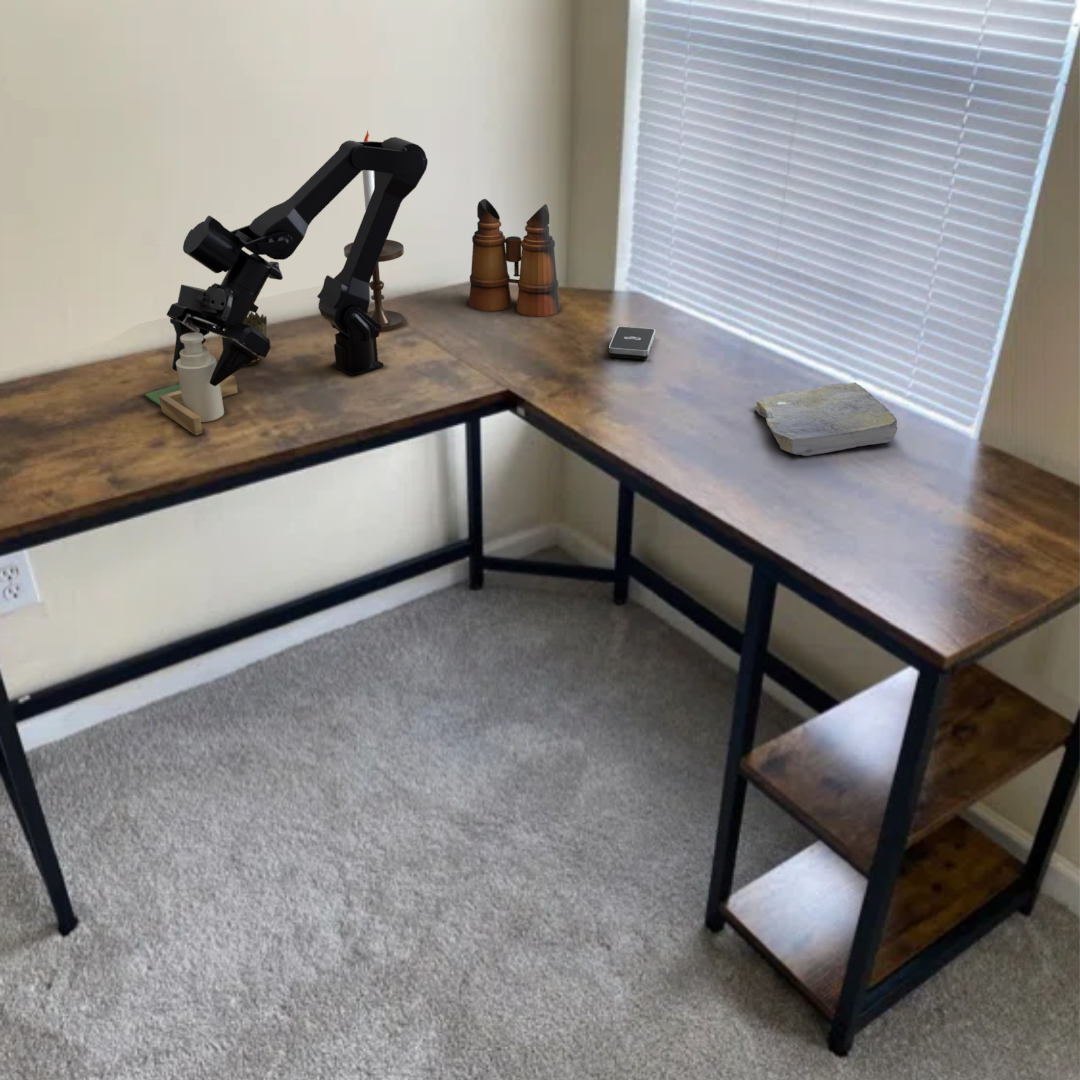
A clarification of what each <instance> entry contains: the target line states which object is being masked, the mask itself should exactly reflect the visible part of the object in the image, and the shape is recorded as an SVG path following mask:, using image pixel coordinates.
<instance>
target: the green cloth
mask: <svg viewBox="0 0 1080 1080" xmlns="http://www.w3.org/2000/svg"><path fill="white" fill-rule="evenodd" d="M179 390H180V384H179V383H178V384H174V385H171V386H168V387H164V388H161V389H157V390H154V391H150V392H147V393H144V397H146V398H147V399H148V400H149V401H151V402H153V403H154V404H156V405H157V406H159V407H160V408H161V404H160V399H159V396H162V395H165V394H168V393H172V392H175V391H179Z"/></svg>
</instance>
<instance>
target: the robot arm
mask: <svg viewBox="0 0 1080 1080" xmlns="http://www.w3.org/2000/svg"><path fill="white" fill-rule="evenodd" d="M428 160H429V159H428V158H427V155H426V152H425V150H424V149H423V148H422V147H421V146H420V145H419V144H416V143H414V142H411V141H409V140H406V139H403V138H401V137H397V136H393V137H389V138H387V139H384V140H383V141H372V140H371V141H370V140H368V141H367V142H364V141H355V140H351V139H349V140H346V141H344V142H342V143H341V144H340V145H339V147H338V150H337V151H335V153H334V154H332V156H331V157H329V158H328V160H327V161H325V163H324V164H323V165H321V166H320V167H319V169H318V170H317V171H315V172H314V174H312V176H310V177H309V179H307V180H306V181H305V183H303V184H302V185H301V186H300V187H299V188H298V189H297V190H296V191H295V192H294V193H293V194H292V195H291V196H290V197H289V198H288V199H286V200H285V201H283V202H281V203H278V204H276V205H274V206H271V207H269V208H268V209H267V210H265V211H264V212H262V213H261V214H259V215H258V216H257V217H255V218H254V219H253V220H252V221H251V223H250V224H248V225H245V226H242V227H239V228H236V229H234V230H231V231H230V230H229V229H227V228H226V227H225V226H224V225H223V224H222V223H221V222H220V221H218V220H217V219H216V218H214V217H213V216H211V215H207V216H206V218H205V219H204V221H201V222H199V223H197V224H196V225H195V226H194V227H193V228H191V229H190V230H189V232H188V233H187V235H186V236H185V238H184V240H183V245H182V251H183V253H184V254H186V255H187V256H188V257H191V259H193V260H195V261H196V262H197V263H199V264H201V265H202V266H203V267H205V268H207V269H208V270H210V271H211V272H213V273H214V274H220V273H222V272H224V273H226V274H224V275H225V276H224V277H223V278H222V281H221V283H220V284H219V283H216V282H214V283H213V284H211V286H208V287H207V289H204V288H201V287H196V286H195V287H194V286H191V285H186V284H180V288H179V292H178V293H179V294H178V299H177V302H174V303H172V304H171V305H170V307H169V309H168V311H167V312H166V316H167V317H169V323H170V324H172V326H173V328H174V331H175V344H174V345H175V346H174V352H173V359H172V365H171V366H172V367H171V368H172V370H173V371H175V372H177V368H176V361H177V360H178V359H180V351H181V350H182V349H184V348H185V347H184V343H182V342H181V340H180V337H181V336H182V335H183V334H186V333H192V332H197V333H201V334H203V337H204V340H203V341H202V345H204V344H205V343H206V341H207V339H206V338H205V336H206V335H208V334H210V333H213V334H215V335H218V336H221V343H222V352H221V355H220V356H219V359H218V360H217V365H216V367H215V369H214V372H213V374H212V377H211V379H210V384H211V385H213V386H217V385H218V384H219V383H221V382H222V381H223V380H225V379H226V378H228V377H229V376H230V375H234V373H236V372H238V371H239V370H241V369H243V368H244V367H246V366H248V365H247V364H248V363H250V362H252V361H253V360H256V361H257V360H258V359H259V358H258V357H257V356H256V355H258V356H261V358H264V359H266V358H267V357H268V354H269V352H270V350H271V348H272V346H271V339H270V338H268V336H267V337H265V336H264V335H262V334H261V333H260V332H258V331H257V330H256V329H254V328H253V327H251V326H249V325H246V324H244V322H245V320H246V318H247V317H248V315H249V314H250V313H251V312H252V313H253V314H255V313H258V310H259V306H258V305H257V304H255V303H256V301H257V299H258V297H259V295H260V293H261V292H262V290H263V287H264V286H265V284H266V282H267V280H268V279H271V280H278V281H282V280H283V279H284V278H283V273H282V271H281V269H280V263H279V262H278V261H281V260H282V261H284V260H286V259H287V260H288V258H290V257H291V256H292V255H293V254H294V253H295V251H296V250H297V248H298V247H299V245H300V244H301V243H302V241H303V240H304V238H305V237H306V234H307V231H308V228H309V226H310V224H311V223H312V222H313V220H314V219H315V218H316V217H317V216H318V215H319V214H320V213H322V211H323V210H324V209H325V208H326V207H327V206H328V205H329V204H330V203H331V202H332V201H333V200H334V199H335V198H336V197H337V196H338V195H340V193H341V192H342V191H344V189H345V188H346V187H347V186H349V184H350V183H351V182H352V181H353V180H354V179H355V178H357V176H358V175H359V174H360V173H361V172H362V171H363V170H369V171H373V177H374V191H373V194H372V196H371V199H370V201H369V204H368V206H367V209H365V212H364V215H363V217H362V219H361V222H360V224H359V226H358V230H357V231H356V235H355V237H354V240H353V245H352V247H351V250H350V252H349V255H348V257H347V258H346V260H345V263H344V265H343V268H342V269H341V271H340V272H339V273H338V274H337V275H335V277H332V276H331V275H329V274H328V275H326V276H325V278H324V281H323V285H322V288H321V291H320V292H319V293H318V294H317V295H316V297H317V298H318V299H319V300H318V311H319V313H320V315H321V316H322V318H323V319H324V320H326V321H327V322H329V323H330V325H331V327H332V328H333V329H334V330H336V331H338V332H336V333H335V334H334V339H335V343H333V349H334V350H333V351H334V359H335V360H334V362H332V366H333V367H334V368H337V369H338V370H341V371H343V372H344V373H347V374H348V375H349V376H350V375H351V376H353V377H355V376H359V375H361V374H364V373H365V374H366V373H367V372H370V371H374V370H377V369H381V368H384V366H385V365H384V362H381V361H380V360H379V356H378V355H379V354H378V344H377V339H378V338H379V337H380V329H381V325H380V324H379V323H378V322H376V321H375V320H374V319H372V318H371V317H370V316H368V315H367V312H369V307H370V303H371V295H370V294H371V292H370V290H371V288H370V286H369V284H370V282H371V279H372V274H373V272H374V269H375V267H376V264H377V262H378V259H379V257H380V254H381V252H382V249H383V247H384V244H385V242H386V239H387V240H388V237H389V235H390V232H391V229H392V227H393V224H394V221H395V220H396V217H397V214H398V212H399V209H400V207H401V204H402V202H403V201H404V199H406V198H407V196H408V195H409V194H411V193H412V192H413V191H414V190H415V189H416V188H417V186H418V185H419V183H420V181H421V179H422V178H423V176H424V174H425V173H426V171H427V167H428V162H429V161H428ZM243 248H244V249H246V250H248V252H251V253H250V254H249V253H248V252H247V251H245V250H244V249H243ZM262 256H267V257H268V258H270V259H273V260H275V261H272V260H271V261H268V260H266V259H265V258H264V257H262ZM276 260H277V261H276ZM224 329H225V331H224ZM228 338H229V339H228ZM230 339H232V340H230Z"/></svg>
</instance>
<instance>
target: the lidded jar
mask: <svg viewBox="0 0 1080 1080" xmlns="http://www.w3.org/2000/svg"><path fill="white" fill-rule="evenodd" d="M204 338H205V336H203V334H201V333H197V332H192V333H186V334H183V335H182V336H181V337H180V340H181V342H182V343H184V347H185V348H184V349H182V350H181V351H180V359H178V360H177V361H176V368H177V371H176V372H177V378H178V384H180V390H181V395H182V401H183V406H184V407H186V408H187V409H189V410H190V411H192V412H193V413H195V414H196V415H198V416H199V417H200V421H201V423H207V422H212V421H216V420H218V419H220V418H222V417H223V416H224V414H225V406H224V400H223V397H222V394H221V387H220V383H219V384H218V385H217V386H213V385H211V384H210V379H211V377H212V374H213V372H214V369H215V367H216V365H217V363H218V361H217V358H216V357H215V356H214V355H212V354H211V353H210V349H209V348H208V347H207V346H203V344H202V341H203V340H204Z"/></svg>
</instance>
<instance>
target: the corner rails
mask: <svg viewBox="0 0 1080 1080" xmlns="http://www.w3.org/2000/svg"><path fill="white" fill-rule="evenodd" d="M220 387H221V394H222V398H225V397H228V396H231V395H235V394H237V393H239V392H238V385H237V379H236V376H235V375H234V374H232V375H230V376H229V377H228V378H226V379H225V380H223V381H222V382H221V383H220ZM159 399H160V404H161V407H160V408H161V413H162V414H164V415H165V416H167V417H168V418H169V419H171V420H173V421H174V422H175V423H177V424H178V425H180V426H181V427H182V428H184V429H186V430H187V431H188V432H190V433H191V434H192V435H194V436H198V435H202V434H203V428H202V422H201V421H200V417H199V416H198V415H196V414H195V413H193V412H192V411H190V410H189V409H187V408H186V407H184V406H183V401H182V395H181V390H179V391H175V392H172V393H168V394H165V395H162V396H159Z"/></svg>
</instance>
